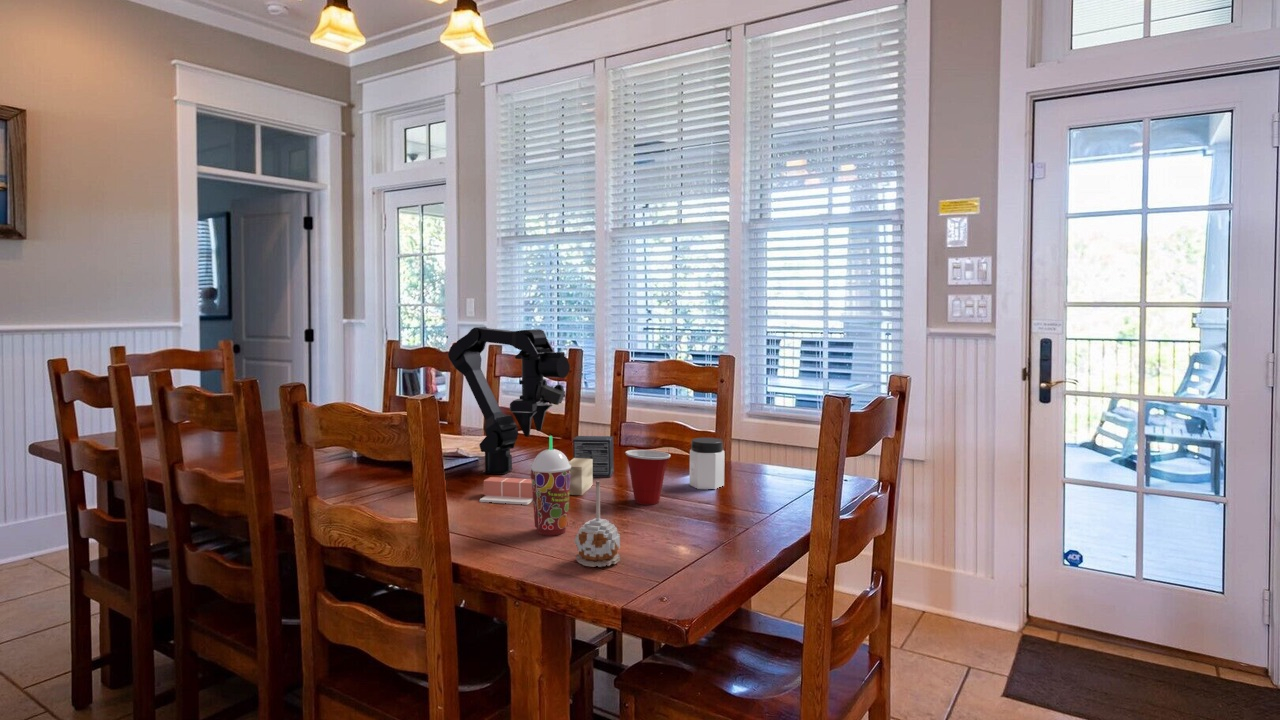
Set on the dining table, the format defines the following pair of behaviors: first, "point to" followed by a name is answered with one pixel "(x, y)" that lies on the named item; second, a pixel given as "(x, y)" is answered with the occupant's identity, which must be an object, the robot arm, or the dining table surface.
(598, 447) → the small box
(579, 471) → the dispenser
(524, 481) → the pink striped block
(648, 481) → the plastic cup
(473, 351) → the robot arm
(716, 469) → the jar
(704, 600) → the dining table surface
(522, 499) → the tile
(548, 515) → the smoothie
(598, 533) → the caramel apple
